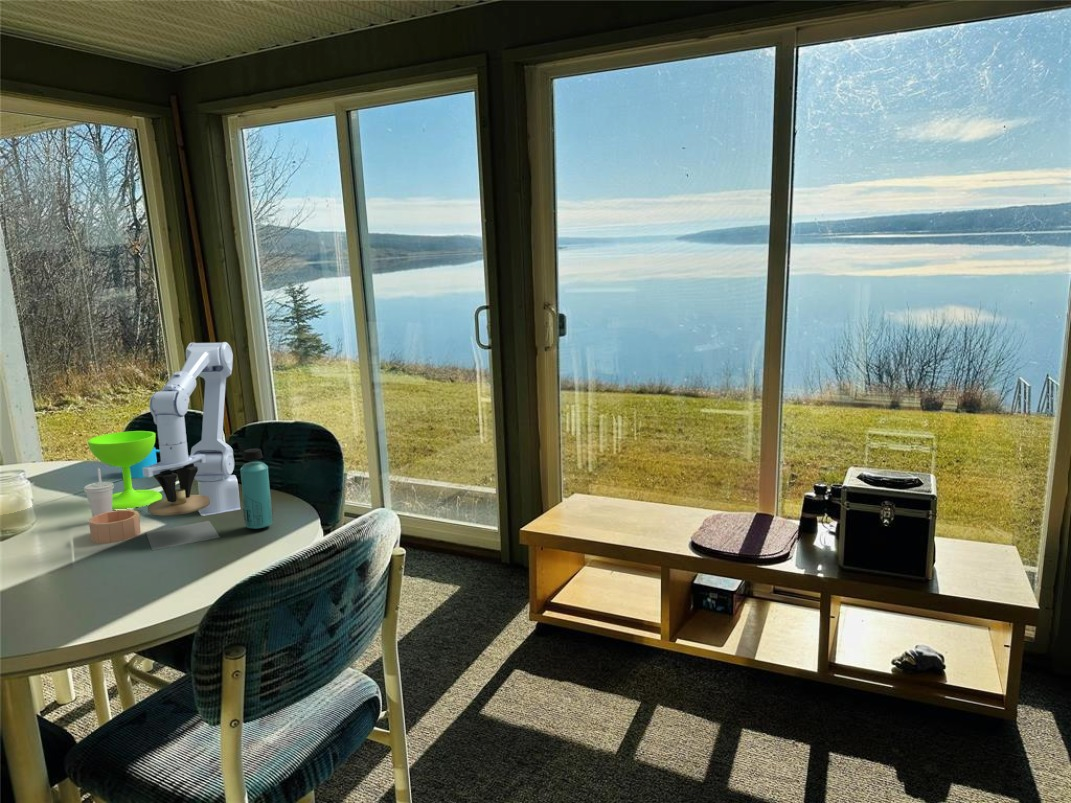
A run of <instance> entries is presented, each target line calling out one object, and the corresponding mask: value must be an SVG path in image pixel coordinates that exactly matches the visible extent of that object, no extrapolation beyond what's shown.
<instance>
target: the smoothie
mask: <svg viewBox="0 0 1071 803" xmlns="http://www.w3.org/2000/svg"><path fill="white" fill-rule="evenodd" d="M96 470H97V476H98V482H93V483H89V484H86V485H85V486H84V487H83V490H84V491H83V492H84V493H85V494H86V498H87V501H88V504H89V508H90V512H91V516H92V517H94V516H95V515H99V514H102V513H105V512H110V511H112V495H113V494H114V493H113V492H114V490H113V489H114V488H115V485H114V482H112V481H102V474H101V473H102V472H101V468H100V467H98V468H97V469H96Z"/></svg>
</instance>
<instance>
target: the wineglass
mask: <svg viewBox="0 0 1071 803" xmlns="http://www.w3.org/2000/svg"><path fill="white" fill-rule="evenodd" d="M156 434H157V433H156V432H154V431H149V430H148V431H146V430H134V431H131V430H130V431H119V432H112V433H107V434H101V435H97V436H94V437H91V438H90V439H88V440H87V445H88V448H89V450H90V452H91V453H92V454H93V456H94V457H95V458H96V459H97V460H99V461H100V462H101V463H103V464H106V465H107V466H112V467H118V468H121V472H122V480H123V487H124V488H123V491H121V492H120V491H119V492H116V493H115V492H114V493H113V495H112V509H127V508H134V509H136V508H135V507H139V508H143V507H146V505H147V506H149V505H150V504H151V503H153V502H155V501H158V500H161V499H163V495H162V493H160V492H159V491H157V490H153V489H152V490H151V489H134V488H133V484H132V478H131V472H130V466H132V465H134V464H136V463H139V462H141V461H142V460H143V459H145V458H146V457H147V456H148V455H149V454H150V452H151V451H152V450H153V447H155V444H156V437H157V436H156ZM142 506H143V507H142ZM127 510H128V509H127Z"/></svg>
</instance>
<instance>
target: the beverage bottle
mask: <svg viewBox="0 0 1071 803" xmlns="http://www.w3.org/2000/svg"><path fill="white" fill-rule="evenodd" d="M262 458H263V452H262V450H261V448H248V449H245V450H243V460H244V461H249V462H247V463H244V464H243V465H242V466H241V467H240V469H239V471H240V480H241V481H240V482H241V493H242V506H243V508H242V510H243V520H244V525H245V527H246V528H248V529H262V528H266V527H267V528H268V526H271V525H272V524H273V521H274V518H273V517H274V516H273V515H274V514H273V512H274V511H273V503H272V495H271V489H270V488H271V487H270V479H269V478H270V477H269V475H270V474H269V466H268V465H267V464H266V463H265V462H262V461H258V460H261V459H262ZM256 460H257V461H256Z"/></svg>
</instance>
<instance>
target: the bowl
mask: <svg viewBox="0 0 1071 803" xmlns="http://www.w3.org/2000/svg"><path fill="white" fill-rule="evenodd" d="M88 523H89V532H90V540H91V542H93V543H96V544H113V543H117V542H123V541H127V540H129V539H133V538H135V537H137V536H138V535H139V534H141V532H142V530H141V525H140V524H141V523H140V514H139V511H138V510H134V509H127V510H117V511H110V512H105V513H102V514H99V515H95V516H94V517H93V516H92V517H90V518H88Z"/></svg>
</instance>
